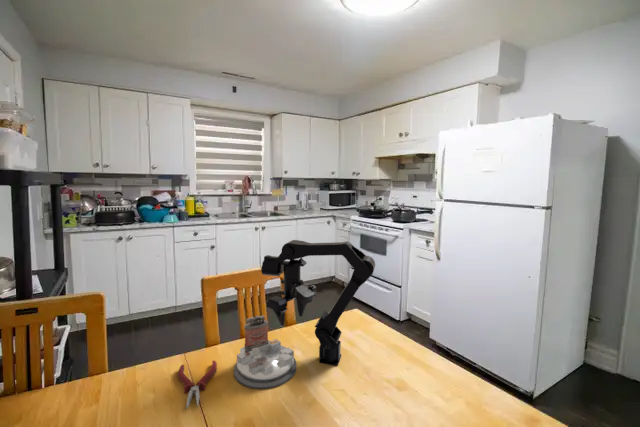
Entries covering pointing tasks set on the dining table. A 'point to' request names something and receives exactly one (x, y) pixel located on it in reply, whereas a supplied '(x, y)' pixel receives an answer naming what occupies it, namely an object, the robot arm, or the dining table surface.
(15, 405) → the dining table surface
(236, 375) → the base plate
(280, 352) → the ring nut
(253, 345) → the lighter
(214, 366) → the pliers
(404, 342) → the dining table surface
